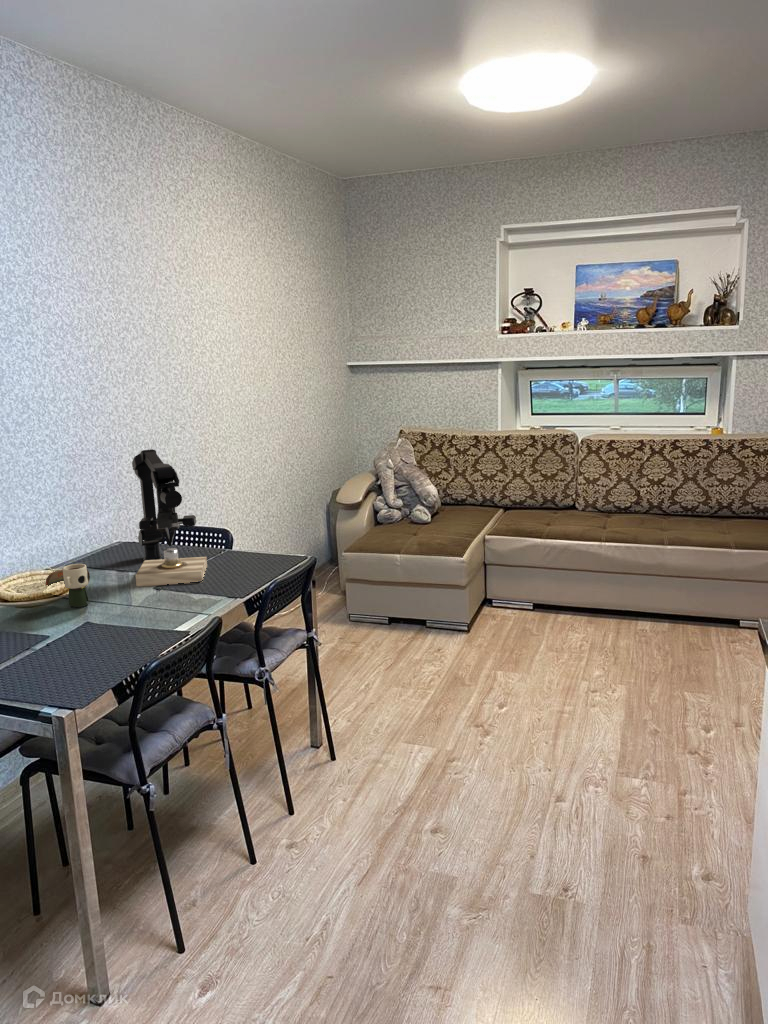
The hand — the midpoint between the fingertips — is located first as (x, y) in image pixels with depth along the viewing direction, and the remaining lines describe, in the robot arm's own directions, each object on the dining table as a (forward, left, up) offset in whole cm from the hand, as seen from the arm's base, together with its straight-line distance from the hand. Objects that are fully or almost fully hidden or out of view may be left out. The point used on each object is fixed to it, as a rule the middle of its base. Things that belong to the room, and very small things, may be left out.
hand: (170, 545), depth 275 cm
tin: (+10, -33, -12) cm, 36 cm away
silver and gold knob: (0, 0, -11) cm, 11 cm away
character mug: (+25, -26, -12) cm, 38 cm away
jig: (0, 0, -11) cm, 11 cm away
